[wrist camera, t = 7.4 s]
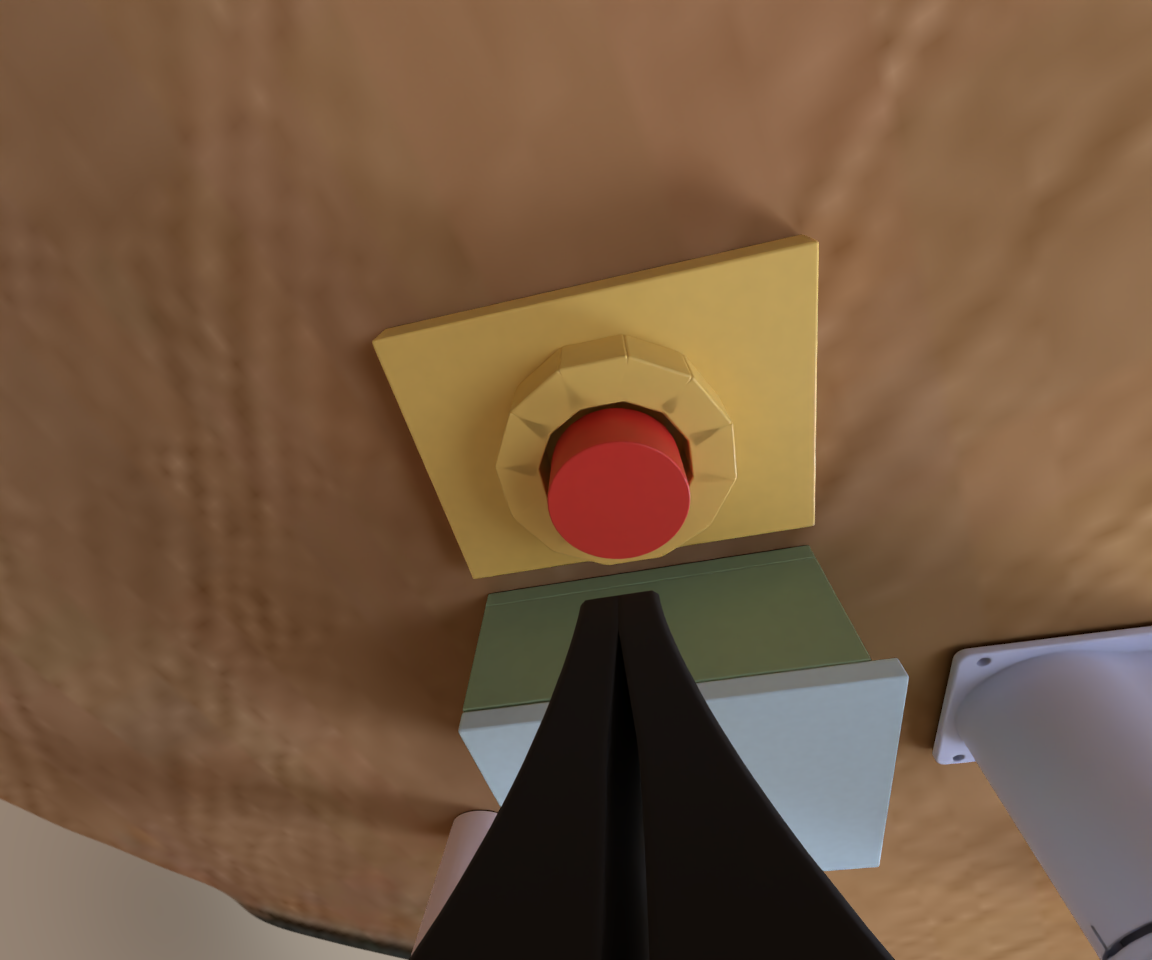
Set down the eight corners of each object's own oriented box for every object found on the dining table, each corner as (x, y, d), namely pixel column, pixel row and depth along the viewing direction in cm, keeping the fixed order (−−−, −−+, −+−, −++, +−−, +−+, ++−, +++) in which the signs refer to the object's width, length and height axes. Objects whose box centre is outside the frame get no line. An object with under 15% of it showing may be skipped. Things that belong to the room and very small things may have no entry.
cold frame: (809, 544, 20) (872, 659, 15) (807, 727, 26) (853, 848, 21) (488, 593, 21) (461, 710, 17) (555, 755, 27) (549, 872, 23)
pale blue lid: (897, 656, 15) (910, 676, 15) (871, 847, 21) (879, 867, 21) (461, 711, 17) (456, 731, 16) (549, 874, 23) (548, 893, 22)
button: (671, 395, 14) (682, 428, 12) (686, 506, 16) (697, 548, 14) (537, 421, 14) (530, 456, 13) (567, 526, 16) (565, 569, 15)
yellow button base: (803, 233, 14) (850, 252, 12) (803, 506, 19) (836, 562, 16) (383, 328, 16) (344, 364, 13) (478, 558, 20) (462, 617, 18)
